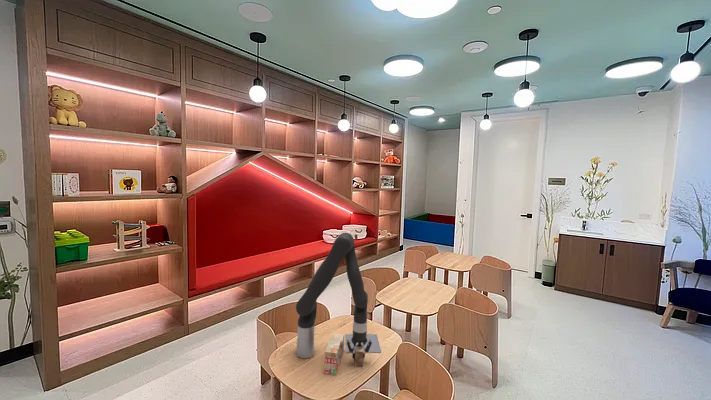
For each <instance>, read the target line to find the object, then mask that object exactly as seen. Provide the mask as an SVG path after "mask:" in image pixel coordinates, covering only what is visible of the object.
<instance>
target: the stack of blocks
mask: <svg viewBox="0 0 711 400" xmlns="http://www.w3.org/2000/svg"><path fill="white" fill-rule="evenodd" d="M344 346H345V334H341V333H333V334H332V337H330V338H329V341H328V344H327V346H326V348H325V351H324V370H323V371H324V372H323V374H324V375H326V374H327V375H333V376H336V375H337V373H338V371H339V367H340V363H341V360H342V357H343V354H344V350H345V347H344Z"/></svg>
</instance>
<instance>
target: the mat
mask: <svg viewBox="0 0 711 400" xmlns="http://www.w3.org/2000/svg"><path fill="white" fill-rule="evenodd" d="M352 336H353V333H350V334H349V333H345V334H344V340H345V350H346V354H352V352H349V349H348V345H347V340H351V339H352ZM366 338H367V340H371V341H372V344H371V347H370V349H369V352H365V354H377V353H378V354H382V349H381V345H380V341H379V338H378V335H377V333H369V334H368V333H367V337H366ZM353 346H354V344H353V343H352V342H351V348H352V349H353ZM366 347H367V342H366V344H365V345H364V348H366Z"/></svg>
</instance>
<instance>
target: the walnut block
mask: <svg viewBox="0 0 711 400" xmlns="http://www.w3.org/2000/svg"><path fill="white" fill-rule="evenodd" d="M353 361H354V367H355V368H363V365H364V359H363V347H362V346H357V347H356V348H355V360H354V359H353Z"/></svg>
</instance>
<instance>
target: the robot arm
mask: <svg viewBox="0 0 711 400" xmlns="http://www.w3.org/2000/svg"><path fill="white" fill-rule="evenodd" d="M343 259H344V260H345V265H346V275H347V280H348V282H349V286H350V288H351V293H352V295H351V296H352V300H353V302H354V303H353V304H354V313H353V322H352V334H353V336H352V339H351V340H347V345H348V349H349V352H352V353H351V355H352V356H351V357H352V359H353V361H354V360H355V348H356V347H357V346H362V347H363V360H364V359H365V356H366V353H365V352H369V349H370V347H371V344H372V341H371V340H367V338H366V337H367V334H368V321H367V320H368V310H367V309H368V302H369V295H368V293H367V292H366V290H365V288H364V284H365V283H364V280H363V277H362V273H361V270H360V267H359V266H360V265H359V263H358V259H357V254H356V246H355V239H354V237H353V235H352V234H351V233H349V232H342V233H341V234H339V235H338V236H337V237H336V238H335V240H334V243H333V245H332V247H331V249H330V251H329V253H328V255H327V256H326V257H325V259H324V260H323V262H321V264H319V266H318V268H317V270H316V271H315V274H314V275H313V277H312V279H311V281H310V283H309V285H308V287H307V289H306V290H305V292H304V293H303V294H302V296H301V297H300V299H298V301H297V303H296V305H295V311H296V313H297V314H298V315H299V317H298V319H297V338H296V357H297V358H298V357H299V358H301V359H308V358H311V357H313V356H314V354H315V326H316V325H315V323H316V322H315V321H316V318H317V312H318V311H317V309H318V306H317V305H318V301H317V300H318V298H319V297H320V296H321V295H322V294H323V292H324V291H326V289H327V287H328V286H329V285H330V284H331V282H332V280H333V279H334V277H335V275H336V273H337V270H338V268H339V266H340V264H341V262H342V261H343ZM351 342H352V343H353V344H354V346H353V349H352V348H351ZM366 342H367V347H366V348H364V345H365V344H366Z"/></svg>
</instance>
